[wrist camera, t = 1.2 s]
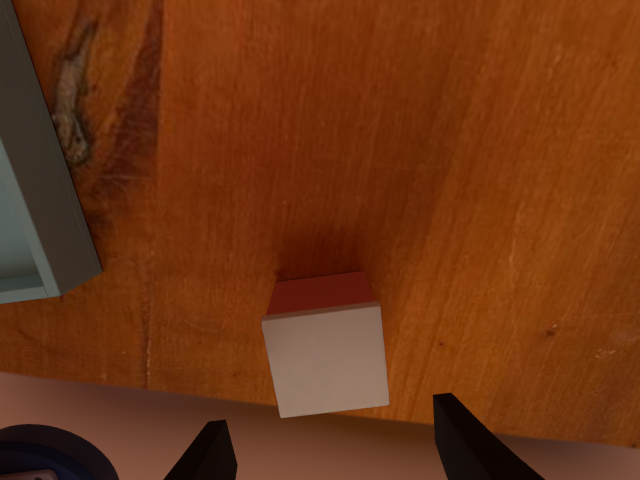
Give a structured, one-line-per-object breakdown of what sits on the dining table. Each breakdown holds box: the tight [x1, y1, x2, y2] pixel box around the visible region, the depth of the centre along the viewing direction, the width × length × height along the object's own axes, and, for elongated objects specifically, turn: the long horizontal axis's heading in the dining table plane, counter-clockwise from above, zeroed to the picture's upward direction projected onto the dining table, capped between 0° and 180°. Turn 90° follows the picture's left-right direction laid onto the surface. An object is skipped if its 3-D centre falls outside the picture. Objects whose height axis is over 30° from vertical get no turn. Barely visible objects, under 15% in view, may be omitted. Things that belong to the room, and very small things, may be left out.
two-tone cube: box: [261, 271, 390, 418], centre depth 17 cm, size 5×5×4 cm
